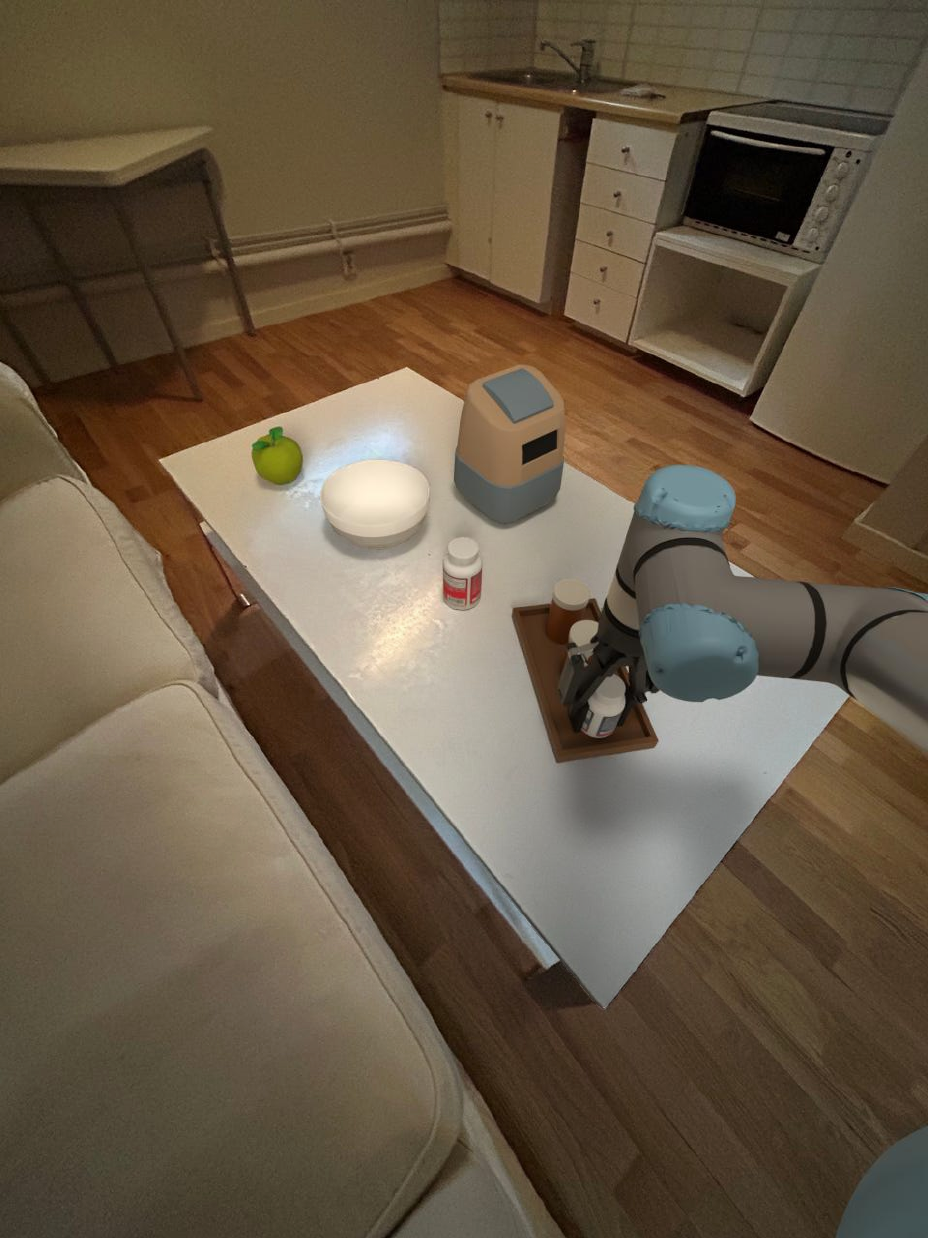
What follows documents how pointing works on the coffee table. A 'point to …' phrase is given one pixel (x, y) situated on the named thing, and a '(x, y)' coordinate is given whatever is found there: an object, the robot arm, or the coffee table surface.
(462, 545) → the pill bottle
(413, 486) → the bowl
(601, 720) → the pill bottle
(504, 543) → the coffee table surface
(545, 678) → the tray
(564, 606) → the amber bottle far
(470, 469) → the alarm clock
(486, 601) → the coffee table surface
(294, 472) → the fruit
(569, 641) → the amber bottle middle
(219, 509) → the coffee table surface
